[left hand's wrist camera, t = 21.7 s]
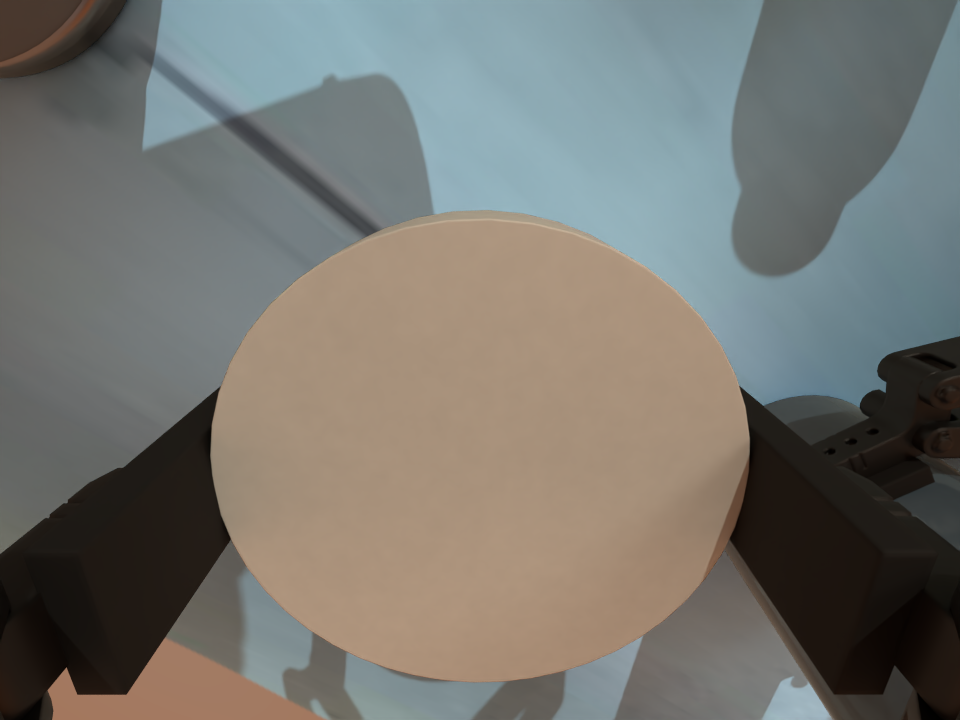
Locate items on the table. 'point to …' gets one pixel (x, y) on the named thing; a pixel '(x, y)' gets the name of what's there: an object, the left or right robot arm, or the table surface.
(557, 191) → the table surface
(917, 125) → the table surface
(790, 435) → the left robot arm
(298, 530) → the lid
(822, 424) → the jar
